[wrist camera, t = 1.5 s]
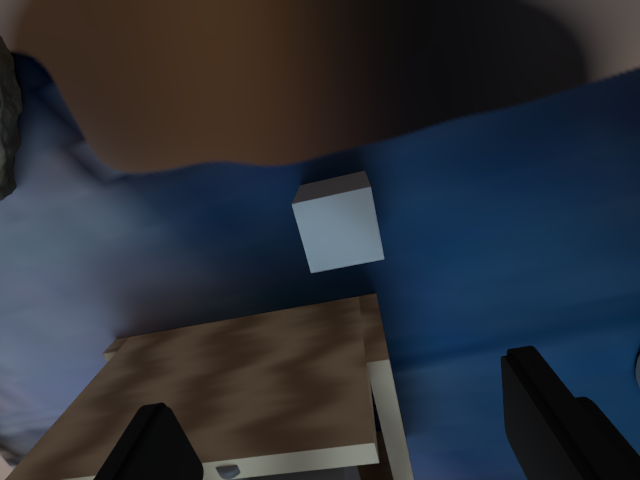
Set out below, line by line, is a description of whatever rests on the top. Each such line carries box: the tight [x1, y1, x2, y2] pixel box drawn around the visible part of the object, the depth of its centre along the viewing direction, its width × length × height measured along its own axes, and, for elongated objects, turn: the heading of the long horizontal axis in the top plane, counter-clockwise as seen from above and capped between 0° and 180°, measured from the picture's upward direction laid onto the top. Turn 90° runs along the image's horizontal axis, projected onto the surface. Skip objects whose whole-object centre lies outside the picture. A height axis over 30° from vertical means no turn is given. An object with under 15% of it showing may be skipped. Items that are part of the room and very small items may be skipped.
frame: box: [5, 293, 414, 480], centre depth 28 cm, size 25×18×14 cm
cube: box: [292, 171, 384, 273], centre depth 24 cm, size 5×5×5 cm
